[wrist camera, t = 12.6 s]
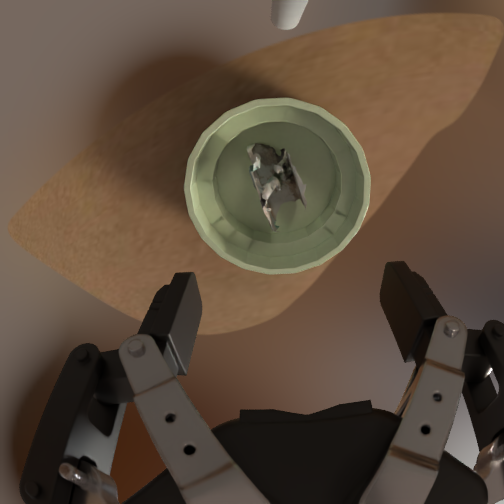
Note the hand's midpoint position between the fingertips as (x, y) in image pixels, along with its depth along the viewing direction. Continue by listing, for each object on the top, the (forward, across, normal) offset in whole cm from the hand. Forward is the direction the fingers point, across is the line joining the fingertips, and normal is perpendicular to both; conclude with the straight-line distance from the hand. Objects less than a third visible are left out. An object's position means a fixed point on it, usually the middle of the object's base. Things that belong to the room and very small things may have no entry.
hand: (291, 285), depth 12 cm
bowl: (+17, 0, 0) cm, 17 cm away
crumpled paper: (+17, 0, 0) cm, 17 cm away
